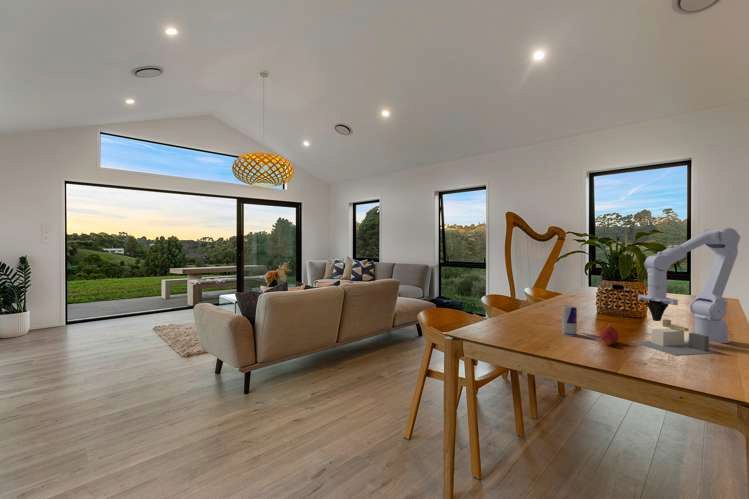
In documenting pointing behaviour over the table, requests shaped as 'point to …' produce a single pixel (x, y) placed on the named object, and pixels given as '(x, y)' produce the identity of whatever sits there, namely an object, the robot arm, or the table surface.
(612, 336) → the onion
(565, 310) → the energy drink
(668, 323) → the brass bolt
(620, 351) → the table surface
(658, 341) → the cover block
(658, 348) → the slate board
